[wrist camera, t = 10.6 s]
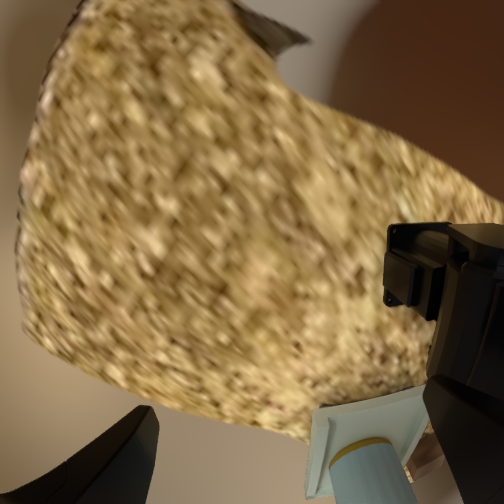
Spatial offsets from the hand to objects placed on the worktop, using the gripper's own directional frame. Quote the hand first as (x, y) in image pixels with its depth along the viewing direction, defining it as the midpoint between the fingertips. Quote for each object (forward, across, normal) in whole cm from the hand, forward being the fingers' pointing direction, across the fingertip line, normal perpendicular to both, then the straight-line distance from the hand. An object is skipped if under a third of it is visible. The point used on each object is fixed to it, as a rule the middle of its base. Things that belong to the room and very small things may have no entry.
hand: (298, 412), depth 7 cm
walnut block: (+13, -20, +28) cm, 37 cm away
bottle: (+10, -8, +20) cm, 24 cm away
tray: (+13, -9, +20) cm, 26 cm away
